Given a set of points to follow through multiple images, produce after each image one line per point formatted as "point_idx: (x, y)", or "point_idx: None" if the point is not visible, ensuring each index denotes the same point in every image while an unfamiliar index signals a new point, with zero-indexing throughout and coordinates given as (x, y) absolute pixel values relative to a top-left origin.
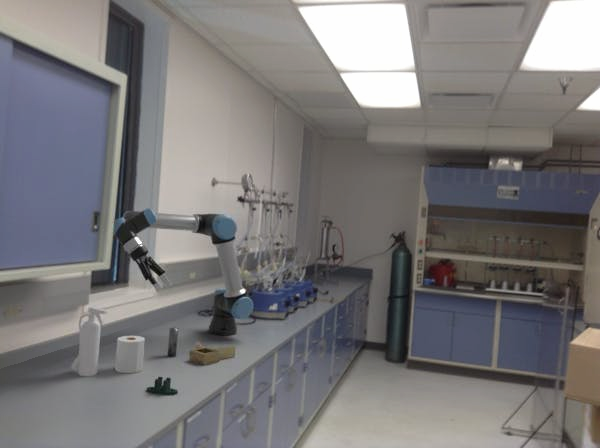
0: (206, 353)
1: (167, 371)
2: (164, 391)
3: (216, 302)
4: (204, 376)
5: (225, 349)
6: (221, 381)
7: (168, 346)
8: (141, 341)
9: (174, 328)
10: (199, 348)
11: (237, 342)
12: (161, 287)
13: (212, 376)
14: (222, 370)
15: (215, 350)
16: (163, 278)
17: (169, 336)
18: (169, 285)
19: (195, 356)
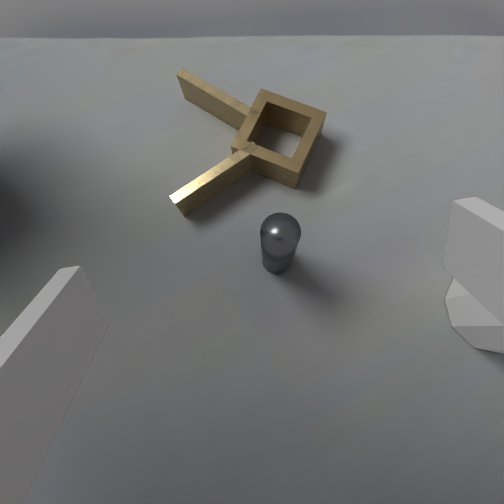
0: (309, 112)
1: (434, 195)
2: None
3: None
4: (413, 93)
5: (216, 89)
6: (425, 44)
7: (288, 263)
8: None
9: (279, 229)
10: (262, 155)
11: (9, 144)
12: (483, 203)
13: (400, 76)
14: (335, 74)
15: (258, 103)
16: (24, 409)
17: (293, 252)
18: (87, 296)
19: (308, 156)
